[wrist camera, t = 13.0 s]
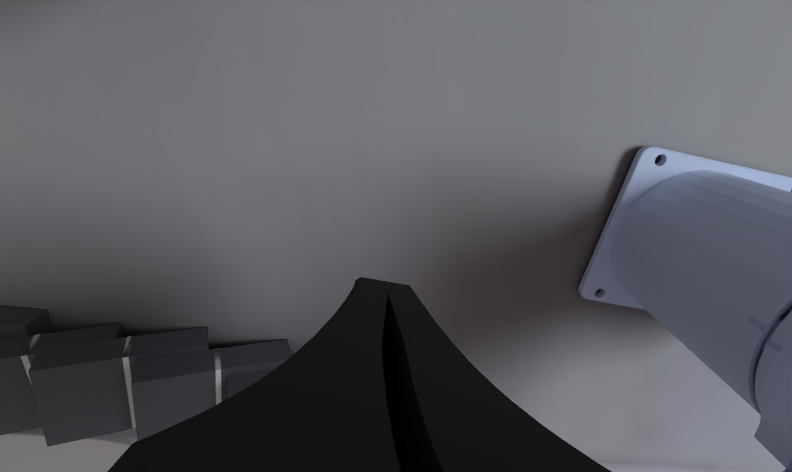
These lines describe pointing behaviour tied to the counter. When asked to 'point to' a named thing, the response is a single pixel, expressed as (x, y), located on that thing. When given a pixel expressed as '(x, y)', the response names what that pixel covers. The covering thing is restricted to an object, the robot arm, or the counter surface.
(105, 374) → the domino
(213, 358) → the domino
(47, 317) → the domino
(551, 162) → the counter surface
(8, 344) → the domino
